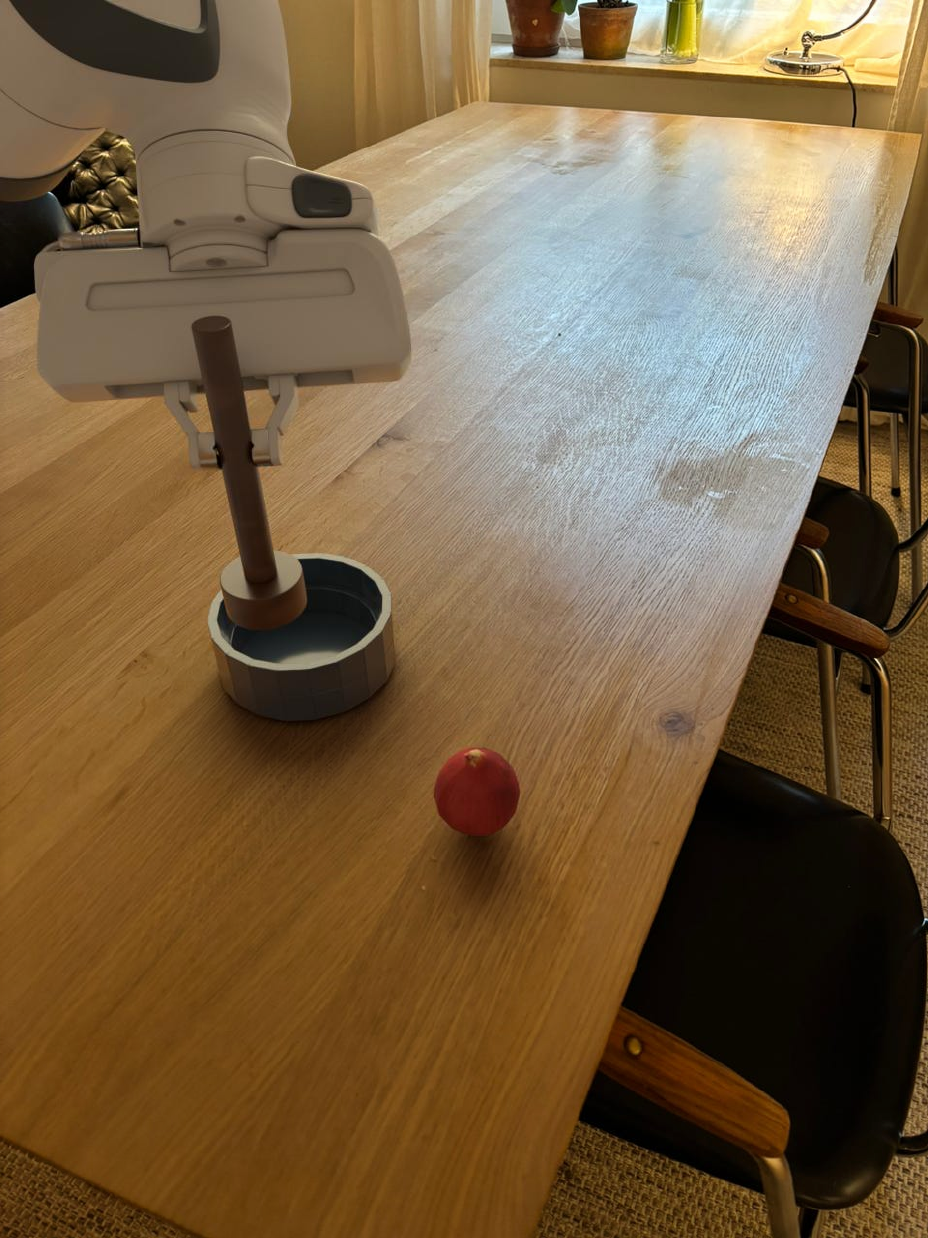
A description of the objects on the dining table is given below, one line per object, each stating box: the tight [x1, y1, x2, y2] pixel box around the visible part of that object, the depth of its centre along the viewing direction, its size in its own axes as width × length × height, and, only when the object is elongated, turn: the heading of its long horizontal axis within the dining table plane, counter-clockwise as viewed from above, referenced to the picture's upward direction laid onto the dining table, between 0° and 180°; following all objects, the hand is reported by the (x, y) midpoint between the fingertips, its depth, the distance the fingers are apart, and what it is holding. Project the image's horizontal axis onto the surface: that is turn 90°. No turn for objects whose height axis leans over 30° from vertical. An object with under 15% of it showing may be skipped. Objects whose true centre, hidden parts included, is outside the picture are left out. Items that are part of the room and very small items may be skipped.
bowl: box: [206, 552, 397, 722], centre depth 81 cm, size 15×15×6 cm
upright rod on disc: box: [191, 316, 307, 630], centre depth 56 cm, size 5×5×18 cm
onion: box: [433, 747, 521, 837], centre depth 67 cm, size 6×6×8 cm
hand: (238, 466), depth 55 cm, fingers closed on upright rod on disc
